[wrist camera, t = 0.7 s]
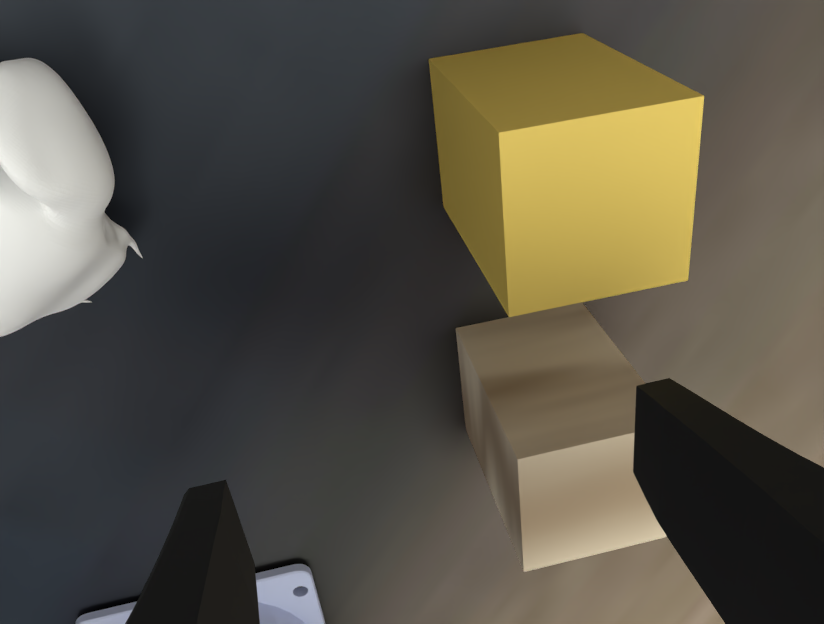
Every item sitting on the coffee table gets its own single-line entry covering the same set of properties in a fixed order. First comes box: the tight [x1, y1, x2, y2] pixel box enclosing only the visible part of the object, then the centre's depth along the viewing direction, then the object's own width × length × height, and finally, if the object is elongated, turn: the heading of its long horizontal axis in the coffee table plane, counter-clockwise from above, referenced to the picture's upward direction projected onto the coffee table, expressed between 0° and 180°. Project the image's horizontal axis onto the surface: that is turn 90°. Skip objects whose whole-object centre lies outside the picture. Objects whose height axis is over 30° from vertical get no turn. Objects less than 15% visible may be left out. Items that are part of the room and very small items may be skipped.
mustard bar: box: [429, 33, 704, 317], centre depth 18 cm, size 4×4×6 cm
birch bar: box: [456, 302, 666, 572], centre depth 22 cm, size 4×4×6 cm
